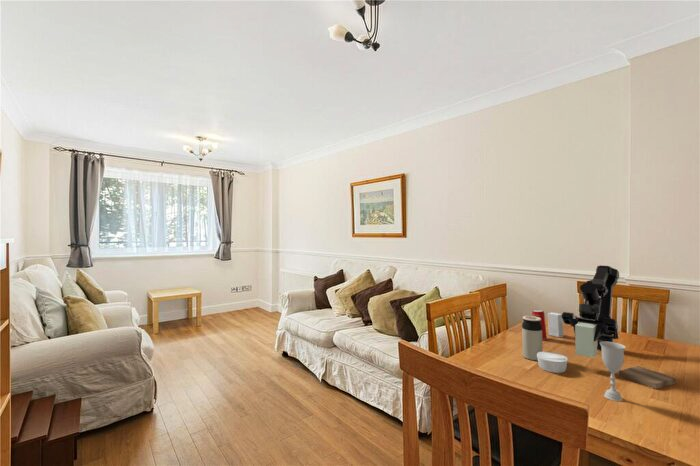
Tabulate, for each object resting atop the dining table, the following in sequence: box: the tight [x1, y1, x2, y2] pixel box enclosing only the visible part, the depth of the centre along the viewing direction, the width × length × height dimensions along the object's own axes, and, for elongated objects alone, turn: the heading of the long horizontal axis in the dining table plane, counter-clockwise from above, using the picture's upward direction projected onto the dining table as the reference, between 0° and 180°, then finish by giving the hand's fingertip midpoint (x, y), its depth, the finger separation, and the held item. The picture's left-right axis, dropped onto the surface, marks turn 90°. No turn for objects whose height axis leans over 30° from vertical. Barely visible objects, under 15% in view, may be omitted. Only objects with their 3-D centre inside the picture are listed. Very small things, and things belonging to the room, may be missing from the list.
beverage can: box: [531, 309, 548, 341], centre depth 176 cm, size 6×6×15 cm
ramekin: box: [537, 351, 569, 374], centre depth 138 cm, size 11×11×5 cm
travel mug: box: [521, 315, 544, 361], centre depth 150 cm, size 8×8×18 cm
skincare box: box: [547, 312, 565, 338], centre depth 180 cm, size 6×4×12 cm
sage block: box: [574, 322, 598, 359], centre depth 137 cm, size 6×6×12 cm
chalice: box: [600, 341, 626, 402], centre depth 113 cm, size 7×7×18 cm
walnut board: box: [618, 365, 677, 390], centre depth 126 cm, size 12×12×2 cm
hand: (585, 339), depth 136 cm, fingers closed on sage block, 6 cm apart
